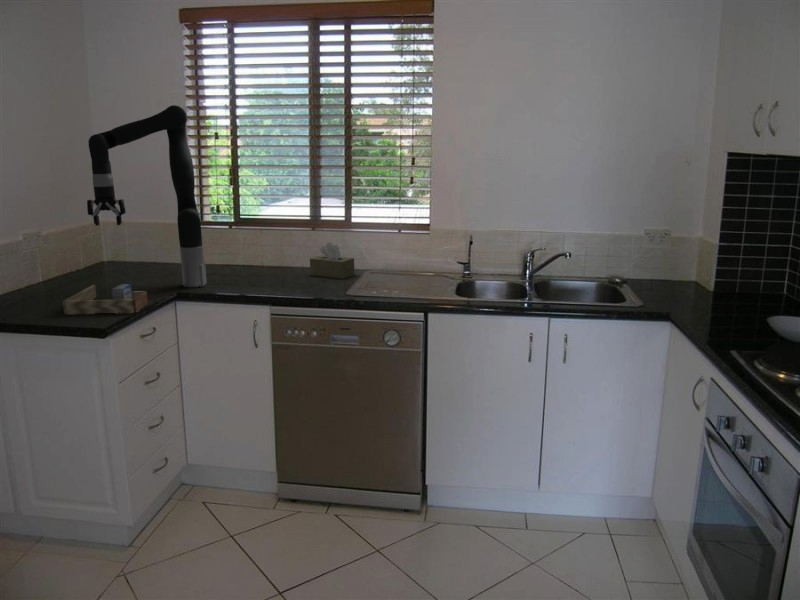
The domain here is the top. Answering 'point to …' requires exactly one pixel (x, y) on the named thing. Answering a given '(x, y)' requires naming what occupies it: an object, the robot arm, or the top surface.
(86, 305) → the channel
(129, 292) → the medicine box
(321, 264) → the tissue box
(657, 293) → the top surface
